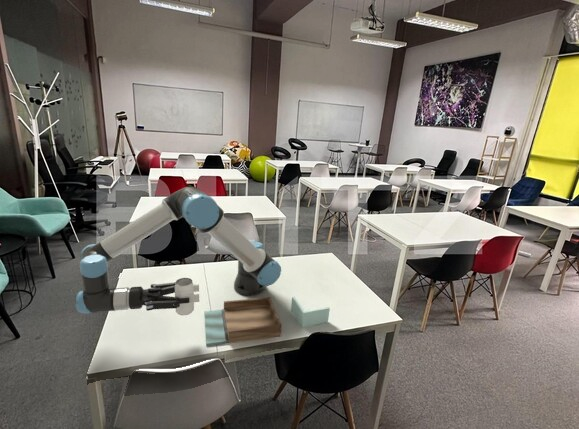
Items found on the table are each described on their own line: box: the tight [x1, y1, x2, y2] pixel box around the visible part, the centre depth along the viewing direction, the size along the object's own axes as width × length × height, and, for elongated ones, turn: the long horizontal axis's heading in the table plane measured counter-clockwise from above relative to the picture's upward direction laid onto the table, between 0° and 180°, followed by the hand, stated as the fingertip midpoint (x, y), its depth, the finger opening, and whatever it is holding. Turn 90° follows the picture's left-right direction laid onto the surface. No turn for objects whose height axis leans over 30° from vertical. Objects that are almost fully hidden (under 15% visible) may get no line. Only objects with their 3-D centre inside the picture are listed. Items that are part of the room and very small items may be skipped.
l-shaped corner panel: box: [290, 296, 331, 328], centre depth 137 cm, size 12×12×8 cm
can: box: [174, 277, 195, 316], centre depth 116 cm, size 6×6×12 cm
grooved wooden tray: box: [204, 296, 282, 347], centre depth 129 cm, size 20×28×5 cm
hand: (199, 292), depth 117 cm, fingers closed on can, 6 cm apart
